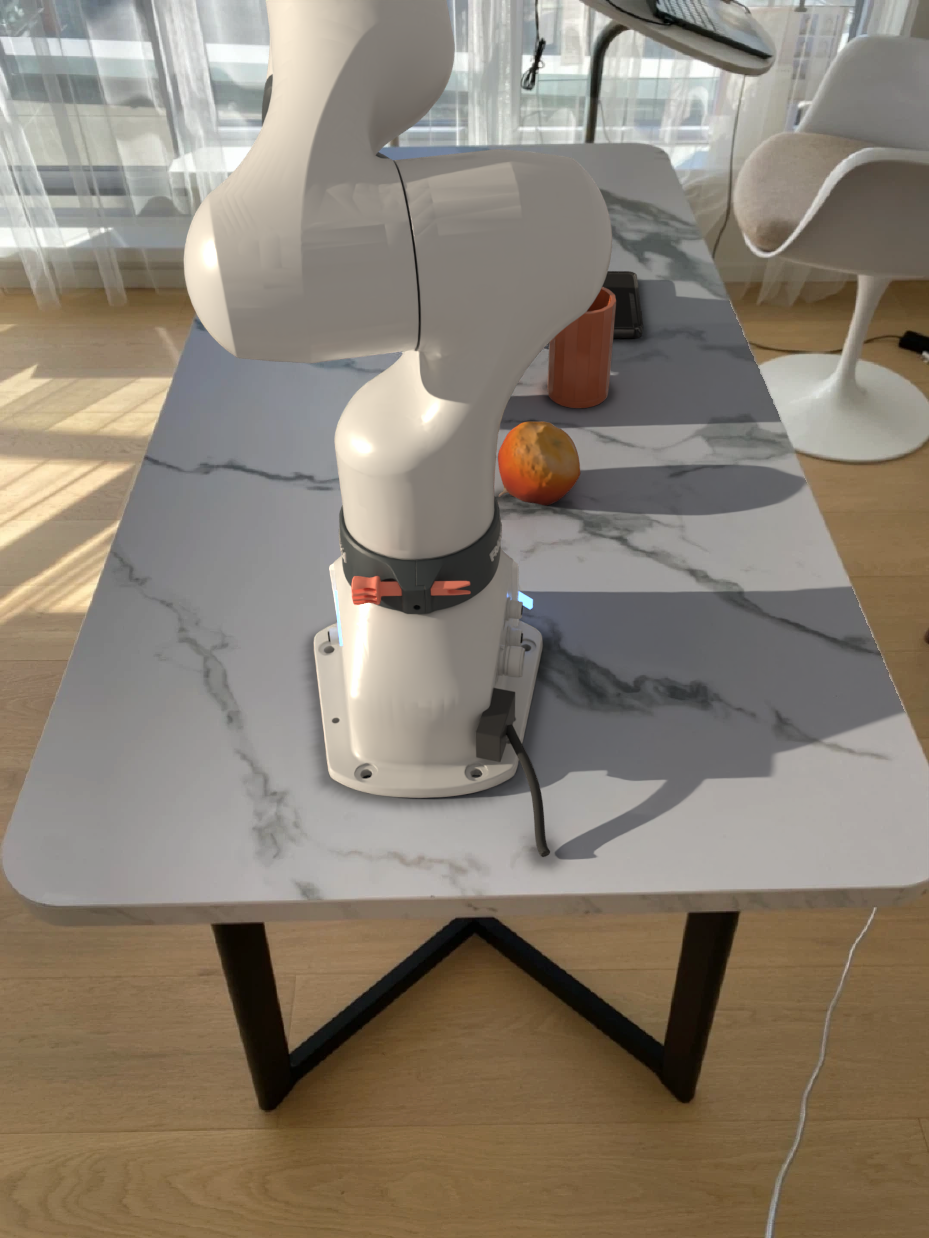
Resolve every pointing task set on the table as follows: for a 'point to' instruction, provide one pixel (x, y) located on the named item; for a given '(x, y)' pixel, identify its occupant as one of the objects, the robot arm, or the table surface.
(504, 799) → the table surface
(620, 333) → the phone
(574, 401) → the cup
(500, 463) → the fruit
